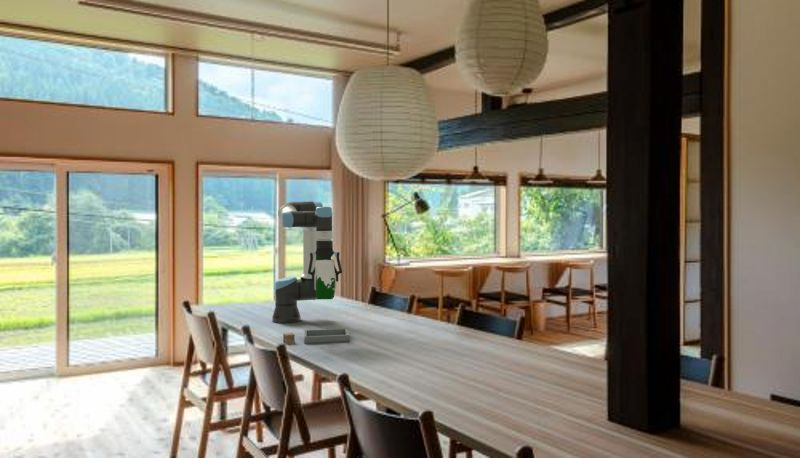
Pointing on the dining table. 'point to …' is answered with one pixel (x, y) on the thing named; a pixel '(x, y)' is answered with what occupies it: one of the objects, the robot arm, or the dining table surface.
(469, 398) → the dining table surface
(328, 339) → the tray
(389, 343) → the dining table surface
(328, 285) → the soya milk
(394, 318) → the dining table surface
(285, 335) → the walnut block
